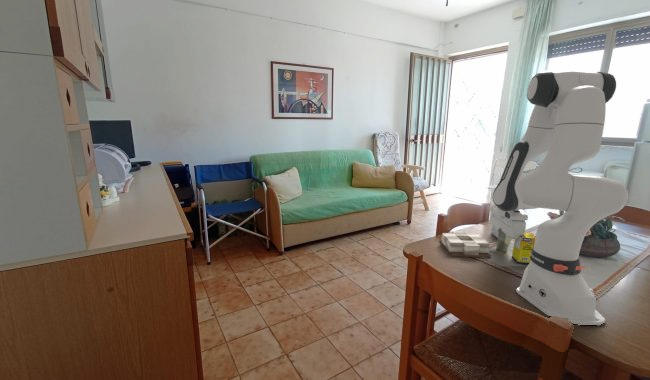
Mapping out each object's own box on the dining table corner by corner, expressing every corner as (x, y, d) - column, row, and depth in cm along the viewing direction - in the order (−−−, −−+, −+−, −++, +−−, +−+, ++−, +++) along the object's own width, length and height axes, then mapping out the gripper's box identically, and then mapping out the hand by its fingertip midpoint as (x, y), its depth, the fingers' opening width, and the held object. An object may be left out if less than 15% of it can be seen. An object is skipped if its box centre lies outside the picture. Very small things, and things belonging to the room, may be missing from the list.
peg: (508, 252, 125) (512, 229, 123) (499, 251, 125) (502, 229, 123) (503, 248, 129) (507, 226, 127) (494, 247, 129) (497, 226, 127)
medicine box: (509, 240, 138) (512, 222, 136) (499, 240, 138) (502, 222, 136) (500, 233, 145) (502, 217, 143) (490, 233, 145) (493, 216, 143)
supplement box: (534, 265, 114) (539, 238, 111) (517, 263, 115) (522, 237, 113) (527, 258, 120) (532, 233, 117) (511, 257, 121) (515, 231, 118)
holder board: (491, 257, 120) (492, 246, 119) (452, 256, 120) (453, 245, 119) (473, 241, 135) (475, 231, 134) (439, 241, 136) (440, 230, 135)
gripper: (487, 202, 133) (483, 231, 136) (514, 217, 113) (508, 251, 117) (502, 203, 133) (497, 232, 136) (531, 217, 113) (525, 251, 116)
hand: (503, 241), depth 126 cm, fingers closed on peg, 4 cm apart
